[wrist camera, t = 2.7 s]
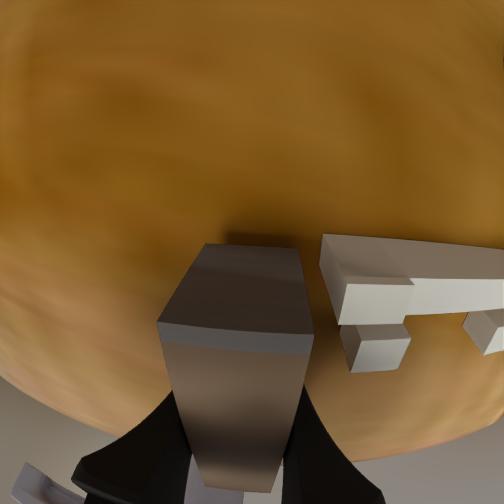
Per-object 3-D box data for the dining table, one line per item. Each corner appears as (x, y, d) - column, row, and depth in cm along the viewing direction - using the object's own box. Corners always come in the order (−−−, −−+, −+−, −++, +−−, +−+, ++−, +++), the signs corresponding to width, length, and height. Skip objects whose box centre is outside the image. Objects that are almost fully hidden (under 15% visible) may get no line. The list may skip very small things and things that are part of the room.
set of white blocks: (497, 321, 13) (528, 359, 9) (307, 332, 14) (316, 399, 10) (523, 252, 11) (564, 282, 7) (323, 233, 12) (347, 283, 8)
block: (273, 425, 15) (270, 492, 10) (218, 420, 15) (205, 486, 10) (298, 248, 10) (314, 334, 6) (205, 243, 10) (156, 321, 6)
